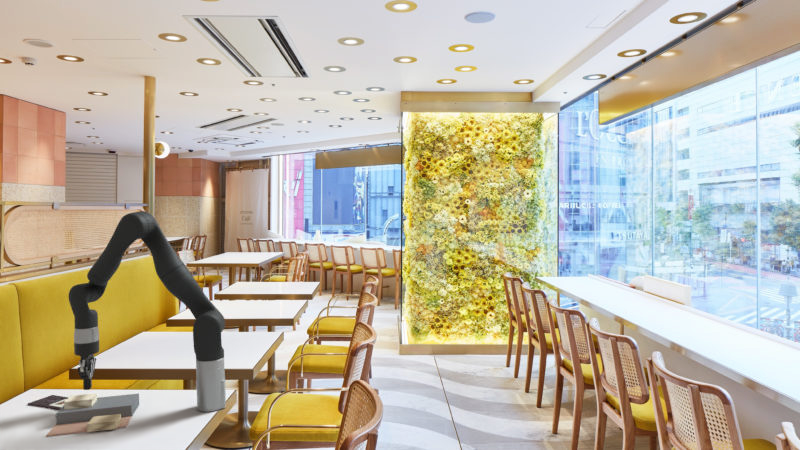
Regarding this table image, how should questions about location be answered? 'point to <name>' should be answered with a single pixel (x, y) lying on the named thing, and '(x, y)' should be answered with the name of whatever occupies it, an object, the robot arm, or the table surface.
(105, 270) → the robot arm
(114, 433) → the table surface
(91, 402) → the birch tile
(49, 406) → the chocolate bar
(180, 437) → the table surface
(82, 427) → the rubber mat
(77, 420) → the slate board
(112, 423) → the oak tile
